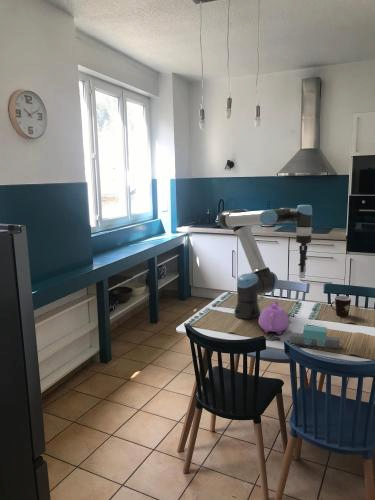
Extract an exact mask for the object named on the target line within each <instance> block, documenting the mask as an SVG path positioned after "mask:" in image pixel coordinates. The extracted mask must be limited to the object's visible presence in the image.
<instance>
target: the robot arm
mask: <svg viewBox="0 0 375 500" xmlns="http://www.w3.org/2000/svg"><path fill="white" fill-rule="evenodd" d="M312 219H313V206H312V205H311V204H298V205H297V207H296V208H293V207H292V208H291V207H290V208H289V207H280V208H278V209H277V208H275V209H274V208H273V209H265V210H263V209H262V210H253V211H250V210H248V209H246V208H245V209H244V208H238V209H229V210H228V209H227V210H224V211H222V212H221V213H220V214H219V216H218V219H217V221H218V224H219V226H220V227H221V228H222V229H224V230H233V232H234V235H236V236H237V237H238V239H239V241H240V244H241V246H242V249H243V251H244V254H245V257H246V259H247V262H248V264H249V267H250V269H251V270H250V272H251V273H250V272H249V273H243V274H241V275H239V276H238V277H237V282H236V289H237V290H236V291H237V293H236V294H237V296H236V297H237V300H236V301H237V302H236V303H235V307H234V311H233V314H234V316H235V317H236V316H237V317H236V318H238V317H239V319H241V318H245V319H244V320H255V319H259V317H260V314H261V313H262V311H261V308H260V305H259V296H260V295H263V294H264V295H265V294H270V293H271V292H274V291H275V290H276V289H277V288H278V285H279V278H278V276H277V274H276V273H275V272H273V271H271V269H270V267H269V266H266V264H265V261H264V259H263V256H262V254H261V251H260V249H259V246H258V243H257V241H256V239H255V236H254V234H253V232H252V231H253V230H252V229H253V226H260V225H265V226H270V225H271V226H272V225H277V224H286V223H292V224H293V223H294V224H296V226H295V227H296V231H295V232H296V233H295V234H296V236H295V238H296V239H295V242H296V243H298V244H300V245H299V248H298V249H299V263H298V265H297V266H299V273H298V274H299V276H298V277H299V279H305V278H306V271H307V260H308V257H307V252H308V245H307V244H310V243H312V231H313V230H314V229H313V227H312Z"/></svg>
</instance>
